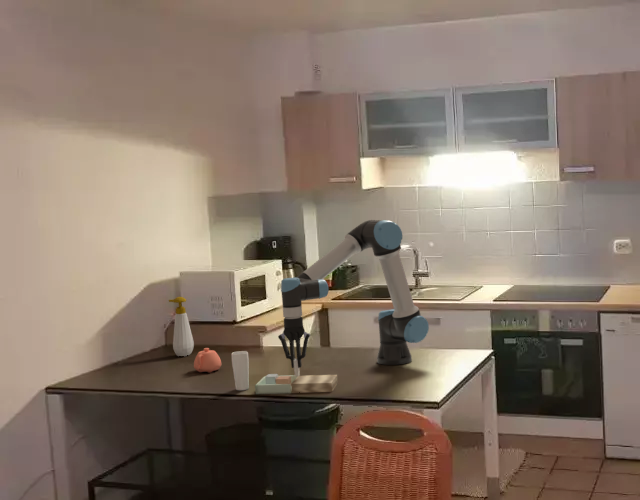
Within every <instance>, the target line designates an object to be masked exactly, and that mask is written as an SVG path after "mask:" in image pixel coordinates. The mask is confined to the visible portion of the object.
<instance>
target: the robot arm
mask: <svg viewBox="0 0 640 500" xmlns="http://www.w3.org/2000/svg"><path fill="white" fill-rule="evenodd" d="M402 240H403V231H402V229H401V227H400V226H399V224H397V223H396V222H394V221H391V220H389V219H388V220H387V219H381V220H380V219H378V220H375V219H369V220H366V221H364V222H362V223H360V224H359V225H356V227H353V229H351V231H349V232H347V233H346V234H345V235H344V239H343V240H342V241H340V242H339V243H338V244H336V245H335V246H334V247H333V248H332V249H330V250H328V252H326V253H325V254H324V255H323V256H322V257H320V258H319V259H318V260H317V261H316V262H314V263H313V264H311V265H310V266H309V267H308V268H307V269H305V270H304V271H303V272H301V273H300V274H298V276H296V277H295V276H294V277H287V278H285V277H284V278H283V279H282V280H281V281H280V282H281V283H280V292H281V302H282V317H283V332H282V333H281V334H279V335H278V339H279V341H280V343H281V345H282V348H283V352H284V354H285V359H287V360H290V363H291V364H290V365H291V368H292V369H293V371H294V375H295V377H296V376H301V374H300V373H301V372H300V371H301V369H300V368H302V366H303V365H302V359H304V358H305V357H307V356H306V355H307V351H308V350H307V349H308V343H309V338H310V337H311V333H308V332H306V331H305V328H304V322H303V321H304V319H303V308H302V307H303V306H302V302H304V301H309V300H317V299H323V298H326V297H327V296H329V295H328V294H329V291H330V290H329V284H328V282H327V281H326V280H325V278H326V277H327V276H328V275H330V274H331V273H333V271H335V270H336V269H337V268H339V267H340V266H341V265H342V264H344V263H345V262H346V261H348V259H350V258H352V257H353V256H354V255H356V254H360V253H361V252H363V251H364V250H367V249H370V248H372V252H373V255H374V257H376V258H378V259H379V262H380V266H381V270H382V272H383V273H382V274H383V276H384V278H385V279H384V280H385V283H386V286H387V290H388V293H389V296H390V300H391V303H392V306H393V309H386V310H381V311H379V312H378V319H377V321H378V330H379V348H378V352H377V356H376V360H377V361H376V362H377V364H379V365H384V366H385V365H386V366H387V365H388V366H396V365H403V364H408V363H411V362H412V360H413V359H412V354H411V351H410V348H409V345H408V343H410V344H412V343H413V344H417V343H421V342H422V341H423V340H425V338H426V337H427V334H428V333H429V329H430V325H429V322H428V320H427V319H426V318H425V317H424V316H423V315H421V311H420V309H419V306H417V305H415V304H414V299H413V297H412V293H411V289H410V287H409V283H408V279H407V276H406V273H405V269H404V266H403V262H402V258H401V256H400V251H401V250H402V247H401V244H402ZM302 337H303V338H304V339H303V345H302V349H301V338H302ZM286 338H287V340H288V343H289V347H288V343H287V341H286ZM295 346H296V347H295ZM295 349H296V350H295ZM295 351H296V354H295ZM295 355H296V356H295Z"/></svg>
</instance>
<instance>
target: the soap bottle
mask: <svg viewBox="0 0 640 500" xmlns="http://www.w3.org/2000/svg"><path fill="white" fill-rule="evenodd" d="M186 301H187V299H186V298H185V297H183V296H177V297H175V298H173V299H168V302H169V303H174V304H176V303H178V306H176V308H175V315H174V327H173V340H172V349H173V351H174V353H175V355H176V356H177V357H179V356H184V357H187V355H188V356H190V355H191V354H192V352H193V350H194V346H195V342H194V338H193V334H192V330H191V327H190V321H189V317H188V314H187V312H186V307H185V306H182V303H186Z"/></svg>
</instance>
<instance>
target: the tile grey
mask: <svg viewBox="0 0 640 500" xmlns="http://www.w3.org/2000/svg"><path fill="white" fill-rule="evenodd" d="M265 376H266V377H265V380H266V384H276V378H277V377H278V376H279V374H278V373H268V374H267V375H265Z"/></svg>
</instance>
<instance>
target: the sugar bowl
mask: <svg viewBox="0 0 640 500" xmlns="http://www.w3.org/2000/svg"><path fill="white" fill-rule="evenodd" d="M194 358H195V359H194V362H193V368H194V369H195V371H197V372H198V373H204V372H207V373H210V374H211V373H213V372H214V371H218V370H220V368H221V366H222V360H221V358H220V356H219V354H218V352H216V350H213V349H212V350H211V349H210V348H209V347H205V348H203V350H201V351H198V353H197V355H196V356H195V357H194Z"/></svg>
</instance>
